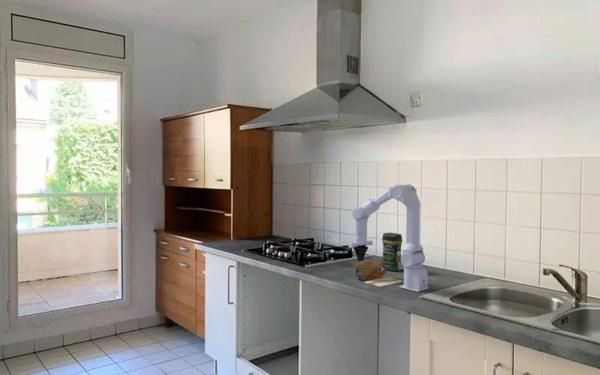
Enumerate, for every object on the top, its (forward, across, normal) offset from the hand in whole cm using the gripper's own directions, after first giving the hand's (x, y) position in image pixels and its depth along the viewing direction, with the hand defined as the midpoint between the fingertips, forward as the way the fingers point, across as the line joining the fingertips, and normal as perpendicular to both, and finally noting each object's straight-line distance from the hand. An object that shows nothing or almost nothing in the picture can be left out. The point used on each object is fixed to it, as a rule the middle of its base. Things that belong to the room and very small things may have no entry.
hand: (360, 261), depth 204 cm
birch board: (+7, 0, +14) cm, 16 cm away
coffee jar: (+7, -23, 0) cm, 24 cm away
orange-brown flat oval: (+7, 0, +6) cm, 9 cm away
